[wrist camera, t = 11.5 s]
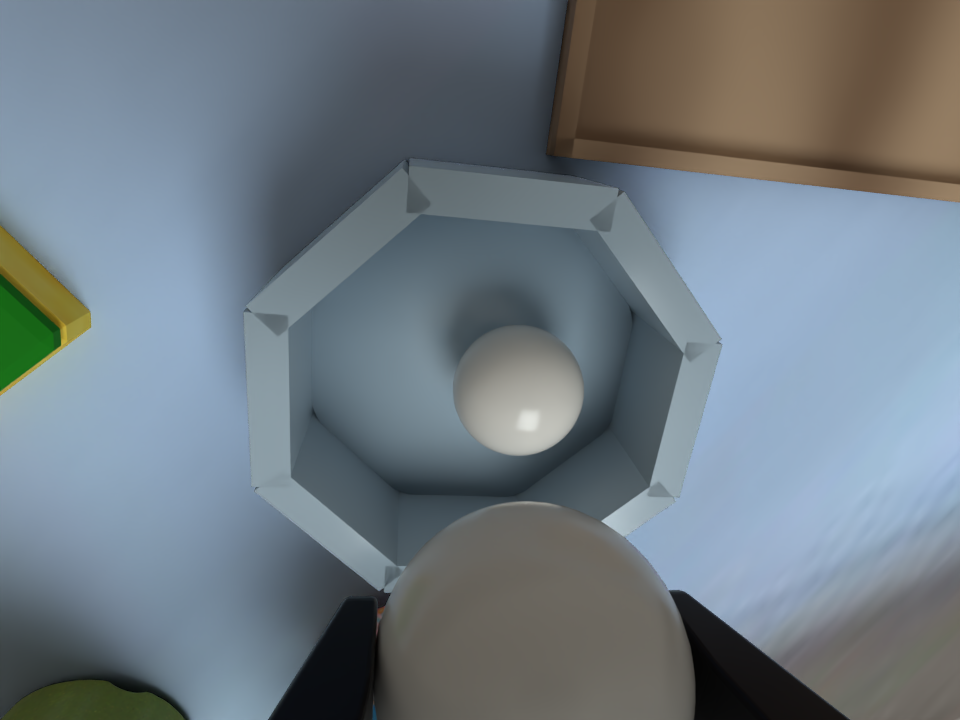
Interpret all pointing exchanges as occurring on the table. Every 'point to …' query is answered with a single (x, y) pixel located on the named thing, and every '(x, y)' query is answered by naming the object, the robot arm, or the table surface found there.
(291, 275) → the bowl
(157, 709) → the plant pot
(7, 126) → the table surface
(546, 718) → the pebble
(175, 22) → the table surface
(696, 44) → the tray
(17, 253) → the dish sponge
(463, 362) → the white ball
